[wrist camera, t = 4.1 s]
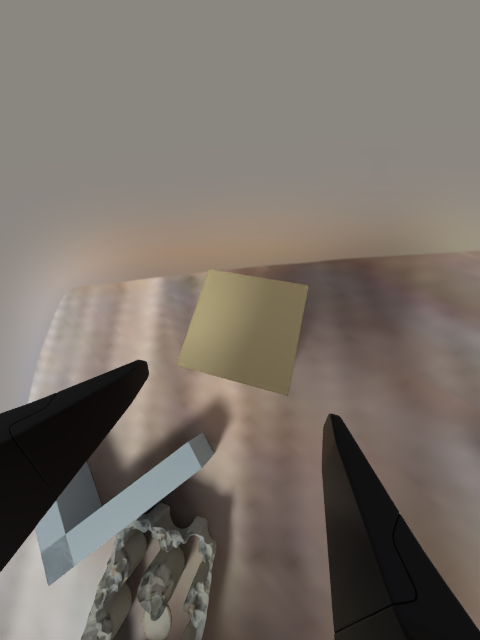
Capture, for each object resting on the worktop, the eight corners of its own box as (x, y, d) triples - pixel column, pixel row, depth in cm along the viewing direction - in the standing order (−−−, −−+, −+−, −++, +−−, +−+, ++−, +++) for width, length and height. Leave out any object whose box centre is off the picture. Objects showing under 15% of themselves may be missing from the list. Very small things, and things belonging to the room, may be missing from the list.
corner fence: (214, 453, 18) (201, 468, 15) (90, 548, 17) (48, 586, 14) (164, 364, 21) (145, 359, 18) (57, 440, 20) (17, 450, 17)
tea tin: (278, 391, 19) (287, 395, 9) (224, 377, 20) (176, 365, 10) (289, 337, 20) (308, 285, 10) (238, 326, 22) (208, 269, 11)
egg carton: (186, 712, 14) (154, 836, 10) (94, 652, 16) (37, 740, 12) (229, 524, 17) (217, 565, 13) (148, 489, 18) (116, 516, 14)
